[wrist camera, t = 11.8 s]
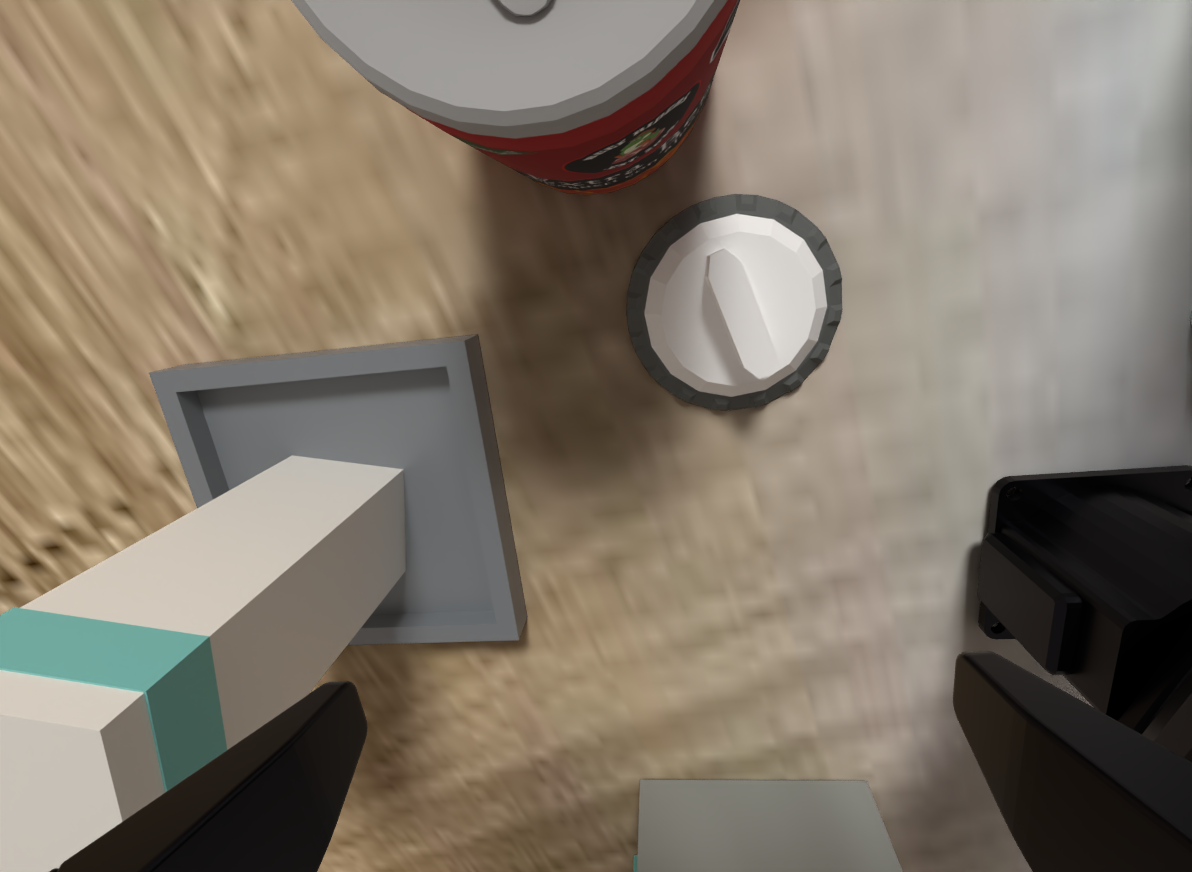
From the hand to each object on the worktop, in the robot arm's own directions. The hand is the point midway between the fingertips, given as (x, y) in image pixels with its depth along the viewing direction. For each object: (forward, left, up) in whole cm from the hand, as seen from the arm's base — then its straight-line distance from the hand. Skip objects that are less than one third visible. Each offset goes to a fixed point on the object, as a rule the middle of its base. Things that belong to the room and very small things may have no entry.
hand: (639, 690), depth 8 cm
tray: (+12, +2, -13) cm, 18 cm away
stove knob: (-3, -4, -14) cm, 15 cm away
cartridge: (+12, +2, -13) cm, 18 cm away
